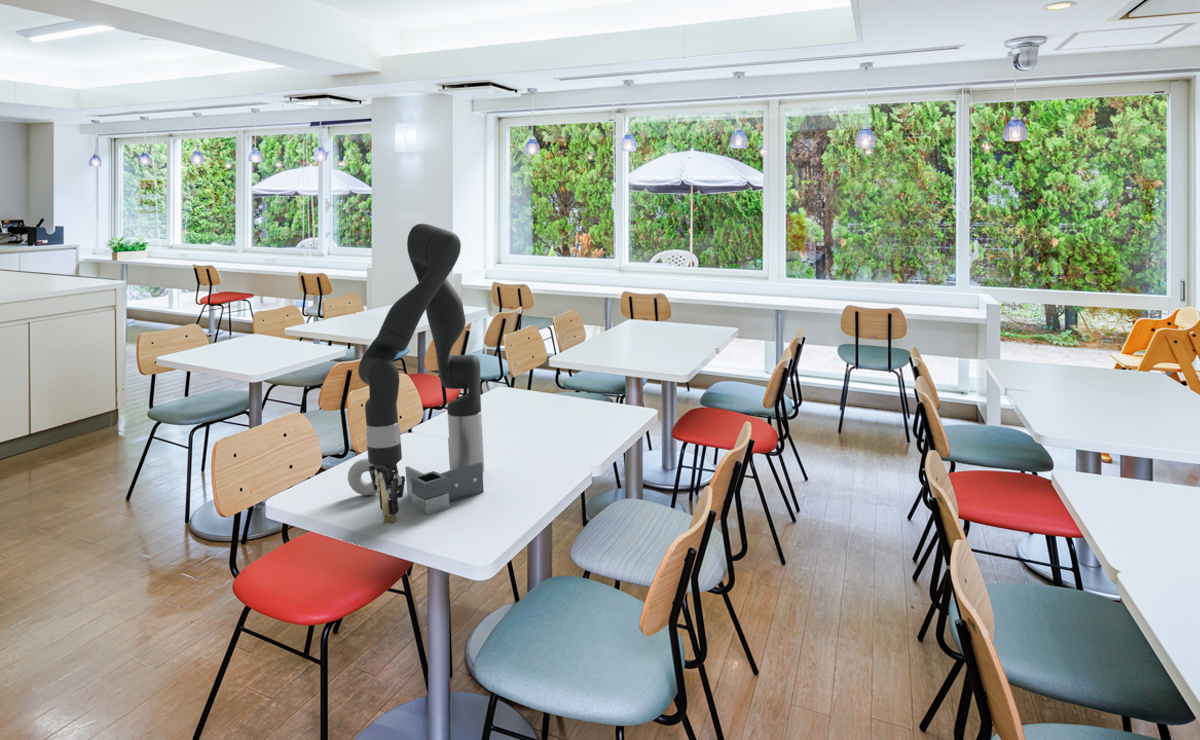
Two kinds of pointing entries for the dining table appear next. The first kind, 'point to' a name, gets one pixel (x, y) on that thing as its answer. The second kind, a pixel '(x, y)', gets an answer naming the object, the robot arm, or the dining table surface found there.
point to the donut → (356, 479)
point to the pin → (386, 505)
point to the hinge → (443, 487)
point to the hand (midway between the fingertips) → (389, 510)
